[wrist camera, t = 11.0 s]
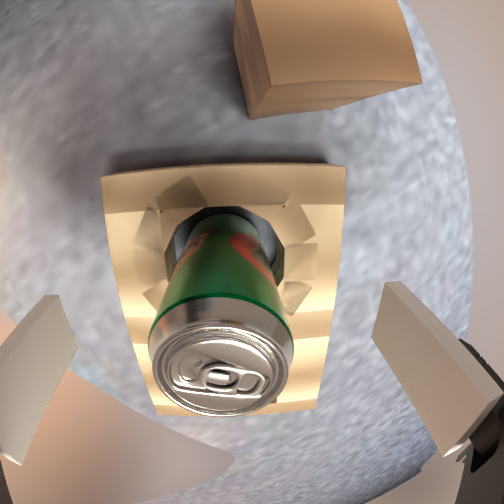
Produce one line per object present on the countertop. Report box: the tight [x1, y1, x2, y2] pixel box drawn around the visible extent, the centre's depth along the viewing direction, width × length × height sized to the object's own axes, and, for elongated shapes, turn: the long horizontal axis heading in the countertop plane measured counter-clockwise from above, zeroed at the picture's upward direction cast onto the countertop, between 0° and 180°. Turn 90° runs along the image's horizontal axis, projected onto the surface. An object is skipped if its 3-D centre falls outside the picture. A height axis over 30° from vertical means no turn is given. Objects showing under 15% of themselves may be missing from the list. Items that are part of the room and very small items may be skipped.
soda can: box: [148, 214, 294, 417], centre depth 14 cm, size 5×5×12 cm
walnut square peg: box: [234, 0, 422, 120], centre depth 11 cm, size 6×6×10 cm
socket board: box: [100, 163, 346, 416], centre depth 19 cm, size 20×14×3 cm
